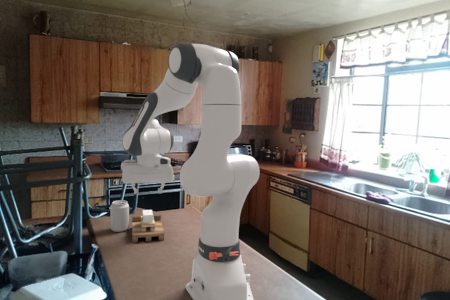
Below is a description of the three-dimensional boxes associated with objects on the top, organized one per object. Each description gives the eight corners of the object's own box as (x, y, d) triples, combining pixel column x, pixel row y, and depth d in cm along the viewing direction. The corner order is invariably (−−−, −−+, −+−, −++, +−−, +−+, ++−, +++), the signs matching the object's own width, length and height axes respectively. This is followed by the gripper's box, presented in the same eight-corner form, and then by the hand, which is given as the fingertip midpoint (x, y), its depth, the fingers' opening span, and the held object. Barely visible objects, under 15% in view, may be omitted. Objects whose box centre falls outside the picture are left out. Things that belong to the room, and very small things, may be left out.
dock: (164, 240, 130) (164, 227, 129) (132, 242, 126) (132, 229, 126) (160, 226, 145) (160, 215, 144) (132, 227, 142) (132, 216, 141)
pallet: (154, 230, 131) (154, 223, 131) (141, 231, 130) (141, 224, 129) (153, 222, 141) (153, 215, 140) (140, 223, 139) (140, 216, 139)
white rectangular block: (153, 222, 132) (153, 215, 132) (143, 222, 131) (143, 215, 131) (151, 216, 139) (152, 209, 138) (142, 217, 138) (142, 210, 137)
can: (123, 233, 135) (123, 205, 133) (106, 231, 136) (106, 203, 135) (132, 227, 142) (132, 200, 141) (116, 225, 144) (116, 198, 142)
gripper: (120, 161, 126) (121, 196, 127) (174, 160, 132) (174, 194, 133) (121, 158, 132) (121, 192, 134) (172, 158, 138) (172, 190, 139)
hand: (148, 193), depth 133 cm, fingers open, 8 cm apart
